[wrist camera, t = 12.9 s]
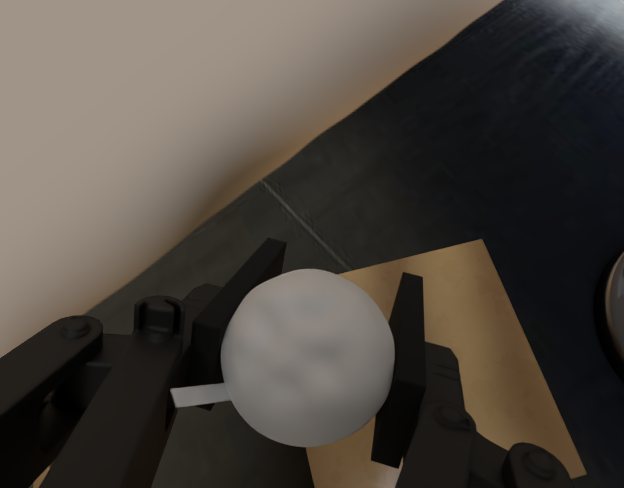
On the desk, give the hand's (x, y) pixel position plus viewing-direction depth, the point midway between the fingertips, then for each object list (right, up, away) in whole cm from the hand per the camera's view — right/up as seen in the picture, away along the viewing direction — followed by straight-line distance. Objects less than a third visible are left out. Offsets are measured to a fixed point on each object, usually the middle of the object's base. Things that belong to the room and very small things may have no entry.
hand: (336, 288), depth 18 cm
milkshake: (-1, -5, +2) cm, 5 cm away
